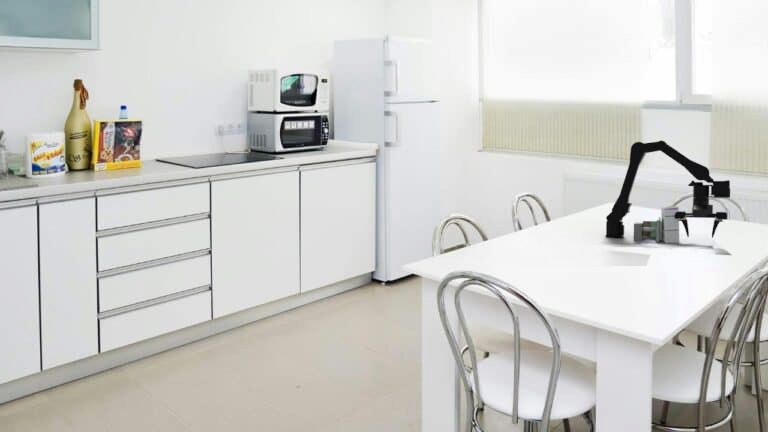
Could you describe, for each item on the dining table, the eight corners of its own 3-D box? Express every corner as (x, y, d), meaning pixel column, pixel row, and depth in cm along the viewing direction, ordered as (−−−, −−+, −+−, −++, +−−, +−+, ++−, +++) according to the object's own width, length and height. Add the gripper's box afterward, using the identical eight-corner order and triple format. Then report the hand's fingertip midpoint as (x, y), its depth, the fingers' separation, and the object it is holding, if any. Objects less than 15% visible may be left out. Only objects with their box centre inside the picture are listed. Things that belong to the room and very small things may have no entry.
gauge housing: (633, 242, 272) (633, 222, 271) (636, 239, 282) (636, 220, 281) (661, 243, 267) (661, 222, 267) (663, 240, 277) (663, 221, 277)
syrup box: (679, 242, 266) (679, 206, 266) (664, 242, 268) (663, 206, 267) (676, 241, 272) (676, 205, 271) (661, 241, 273) (660, 206, 272)
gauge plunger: (633, 240, 272) (633, 218, 271) (636, 238, 283) (637, 216, 282) (658, 241, 267) (659, 218, 267) (661, 239, 279) (661, 216, 278)
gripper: (674, 198, 261) (673, 238, 262) (727, 198, 253) (727, 239, 253) (675, 197, 271) (674, 235, 272) (727, 197, 263) (726, 237, 263)
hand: (700, 237), depth 265 cm, fingers open, 8 cm apart
